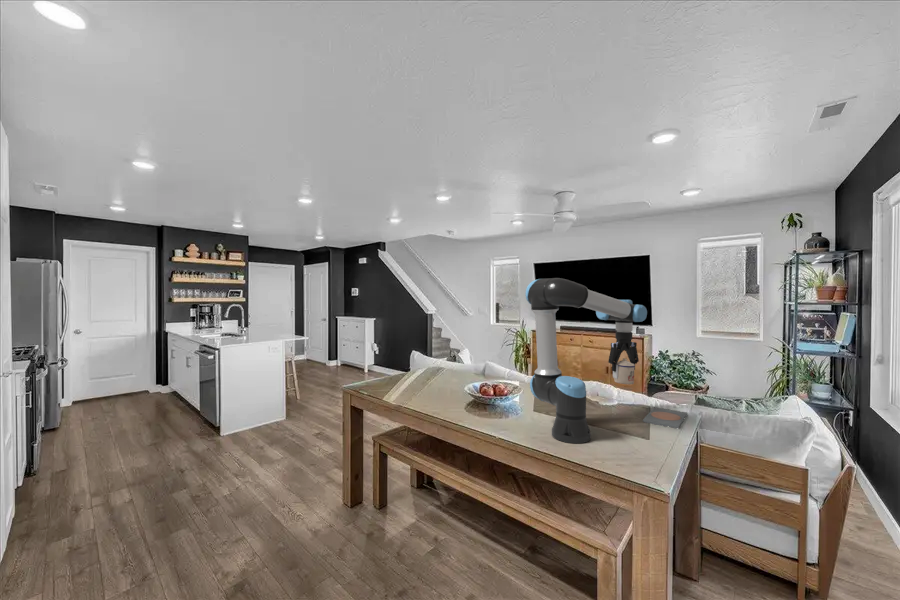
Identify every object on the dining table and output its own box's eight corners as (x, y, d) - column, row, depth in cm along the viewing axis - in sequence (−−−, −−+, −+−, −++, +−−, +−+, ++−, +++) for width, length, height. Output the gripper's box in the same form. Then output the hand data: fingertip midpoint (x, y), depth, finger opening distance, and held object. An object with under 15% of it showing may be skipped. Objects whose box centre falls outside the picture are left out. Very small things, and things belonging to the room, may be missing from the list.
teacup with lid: (631, 385, 178) (632, 360, 178) (611, 382, 184) (612, 358, 184) (637, 382, 188) (638, 358, 188) (618, 379, 193) (619, 356, 193)
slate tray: (678, 428, 162) (678, 426, 162) (642, 421, 171) (642, 419, 171) (687, 414, 181) (687, 412, 181) (654, 409, 190) (654, 406, 190)
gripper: (635, 330, 192) (635, 374, 192) (600, 331, 185) (599, 377, 185) (647, 331, 185) (647, 377, 185) (611, 332, 178) (611, 380, 178)
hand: (623, 377), depth 185 cm, fingers closed on teacup with lid, 9 cm apart
